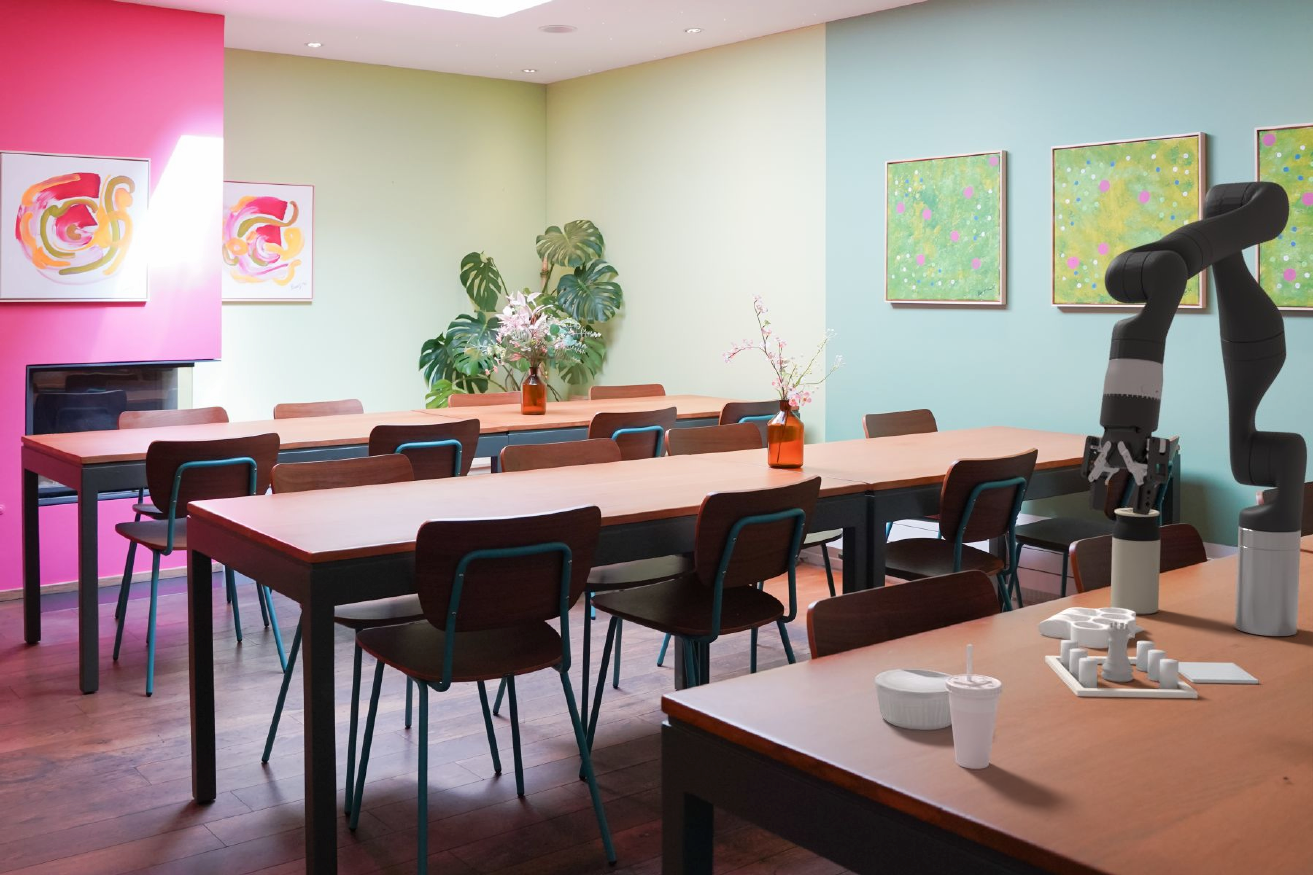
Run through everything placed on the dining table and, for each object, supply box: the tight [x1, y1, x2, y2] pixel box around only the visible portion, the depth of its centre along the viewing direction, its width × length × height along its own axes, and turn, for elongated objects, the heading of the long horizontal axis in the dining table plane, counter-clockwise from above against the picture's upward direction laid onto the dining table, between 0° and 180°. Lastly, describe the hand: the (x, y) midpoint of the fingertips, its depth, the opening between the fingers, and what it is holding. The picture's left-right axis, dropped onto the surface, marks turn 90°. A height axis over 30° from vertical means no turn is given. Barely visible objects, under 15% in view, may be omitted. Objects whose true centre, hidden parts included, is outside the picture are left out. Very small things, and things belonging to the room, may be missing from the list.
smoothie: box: [945, 643, 1003, 770], centre depth 139 cm, size 6×6×14 cm
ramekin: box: [874, 668, 953, 731], centre depth 155 cm, size 11×11×5 cm
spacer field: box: [1044, 639, 1199, 699], centre depth 173 cm, size 18×16×4 cm
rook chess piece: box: [1100, 622, 1135, 683], centre depth 173 cm, size 4×4×8 cm
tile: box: [1178, 661, 1259, 685], centre depth 175 cm, size 9×9×1 cm
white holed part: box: [1037, 606, 1146, 649], centre depth 198 cm, size 3×18×15 cm
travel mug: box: [1110, 507, 1162, 616], centre depth 215 cm, size 8×8×18 cm
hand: (1118, 512), depth 165 cm, fingers open, 8 cm apart
